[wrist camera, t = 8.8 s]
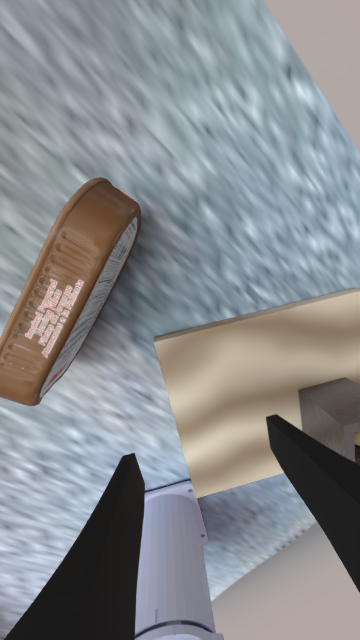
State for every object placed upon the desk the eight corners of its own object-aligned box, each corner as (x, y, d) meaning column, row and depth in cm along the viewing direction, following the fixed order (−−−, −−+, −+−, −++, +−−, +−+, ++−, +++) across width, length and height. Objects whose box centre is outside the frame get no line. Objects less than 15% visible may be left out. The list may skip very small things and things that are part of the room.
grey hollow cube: (346, 419, 21) (403, 461, 16) (302, 431, 21) (346, 478, 16) (345, 377, 20) (405, 409, 15) (298, 389, 20) (343, 426, 15)
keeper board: (356, 437, 23) (421, 490, 18) (193, 484, 22) (205, 556, 17) (351, 288, 20) (433, 292, 14) (154, 337, 19) (151, 363, 13)
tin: (119, 205, 16) (76, 129, 8) (153, 227, 17) (145, 177, 9) (42, 357, 18) (-56, 423, 10) (75, 372, 19) (8, 446, 10)
